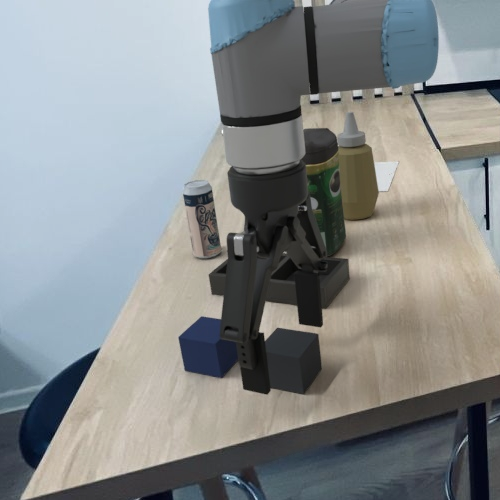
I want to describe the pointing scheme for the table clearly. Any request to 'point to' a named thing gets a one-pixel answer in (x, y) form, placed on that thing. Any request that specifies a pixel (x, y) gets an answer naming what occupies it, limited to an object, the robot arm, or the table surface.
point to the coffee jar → (325, 185)
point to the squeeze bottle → (356, 172)
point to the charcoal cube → (293, 359)
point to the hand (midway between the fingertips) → (286, 355)
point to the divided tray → (292, 280)
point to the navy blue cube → (207, 348)
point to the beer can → (202, 219)
